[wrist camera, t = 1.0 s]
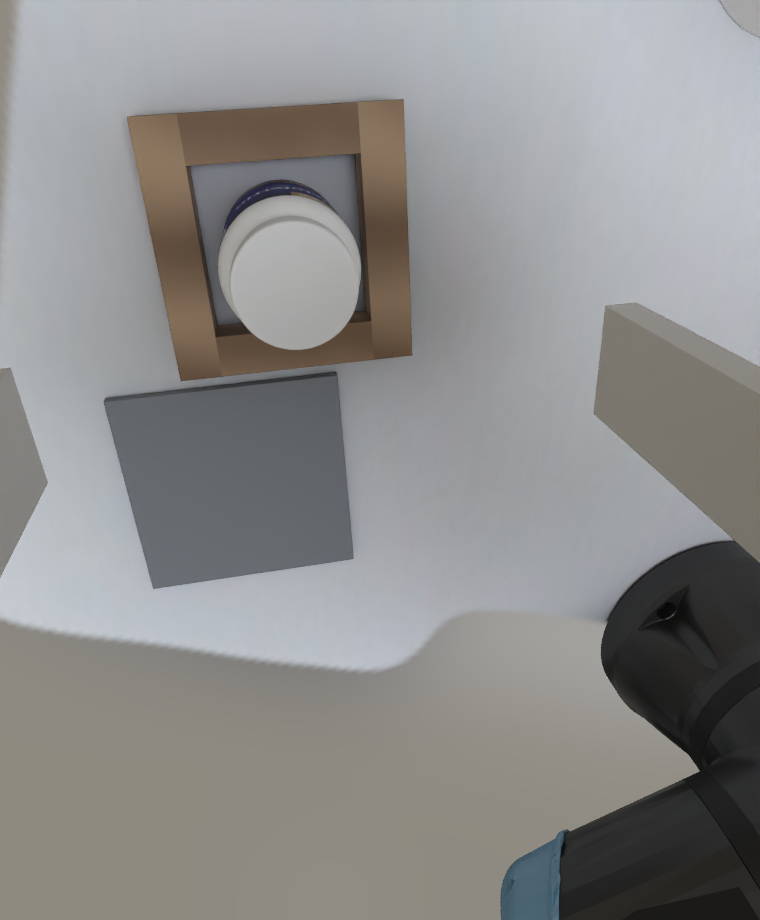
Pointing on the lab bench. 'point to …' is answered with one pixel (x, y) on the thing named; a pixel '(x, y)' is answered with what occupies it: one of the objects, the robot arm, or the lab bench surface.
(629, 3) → the lab bench surface
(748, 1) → the cylinder container
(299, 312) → the pill bottle
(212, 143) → the wooden square frame
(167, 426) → the rubber mat
